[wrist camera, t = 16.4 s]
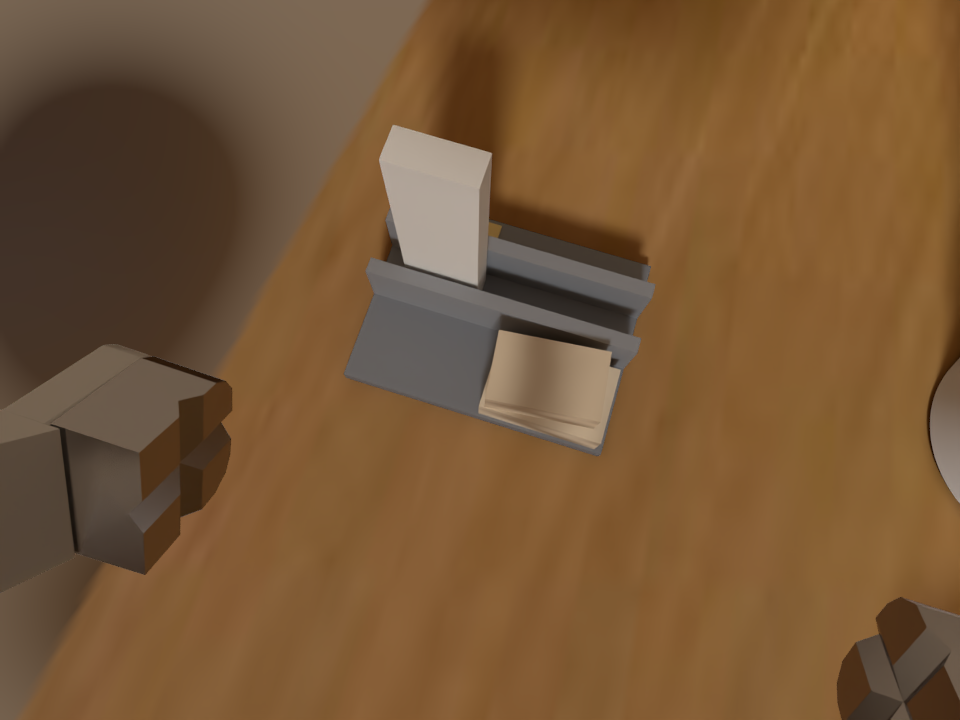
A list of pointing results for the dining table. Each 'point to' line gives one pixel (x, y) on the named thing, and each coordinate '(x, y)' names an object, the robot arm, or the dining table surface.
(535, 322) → the rack
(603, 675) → the dining table surface
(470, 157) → the plank
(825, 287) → the dining table surface
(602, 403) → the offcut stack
